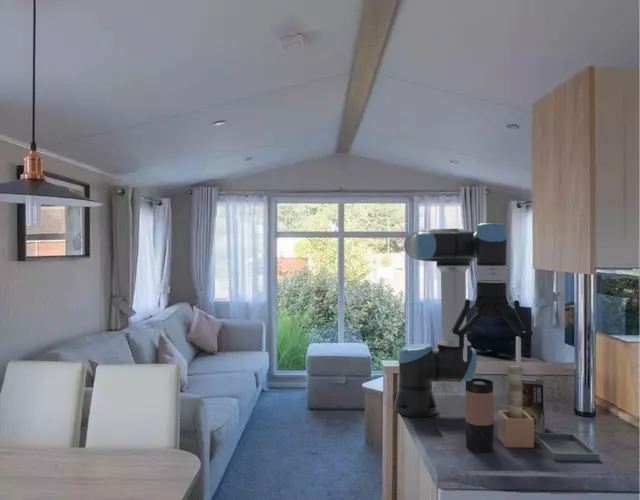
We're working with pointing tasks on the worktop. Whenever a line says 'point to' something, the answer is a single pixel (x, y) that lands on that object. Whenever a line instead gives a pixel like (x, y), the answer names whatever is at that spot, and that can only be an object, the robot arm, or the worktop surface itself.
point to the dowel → (515, 392)
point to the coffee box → (534, 402)
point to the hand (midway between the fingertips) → (491, 361)
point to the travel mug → (479, 415)
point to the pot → (515, 430)
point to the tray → (565, 447)
